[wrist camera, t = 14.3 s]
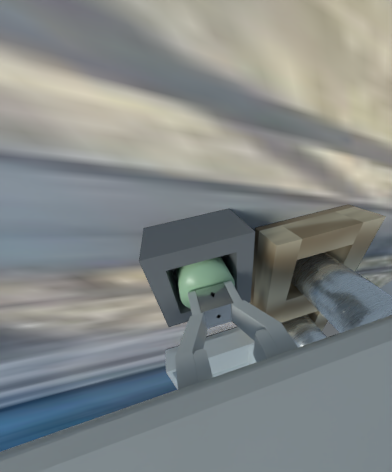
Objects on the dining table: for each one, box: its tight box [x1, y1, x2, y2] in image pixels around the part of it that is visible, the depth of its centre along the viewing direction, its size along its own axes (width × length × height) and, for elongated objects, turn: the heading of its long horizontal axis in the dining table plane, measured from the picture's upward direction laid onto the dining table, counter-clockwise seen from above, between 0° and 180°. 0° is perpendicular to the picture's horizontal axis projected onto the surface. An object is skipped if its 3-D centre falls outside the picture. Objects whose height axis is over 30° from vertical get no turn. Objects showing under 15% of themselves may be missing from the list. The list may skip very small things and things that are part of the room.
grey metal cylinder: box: [291, 252, 392, 333], centre depth 14 cm, size 4×4×7 cm
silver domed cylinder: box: [281, 315, 327, 348], centre depth 19 cm, size 4×4×7 cm
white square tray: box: [165, 327, 256, 389], centre depth 25 cm, size 13×13×2 cm
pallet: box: [250, 205, 386, 331], centre depth 19 cm, size 20×10×3 cm, turn 8°
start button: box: [176, 256, 235, 309], centre depth 12 cm, size 4×4×3 cm
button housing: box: [139, 209, 255, 327], centre depth 13 cm, size 7×7×4 cm
